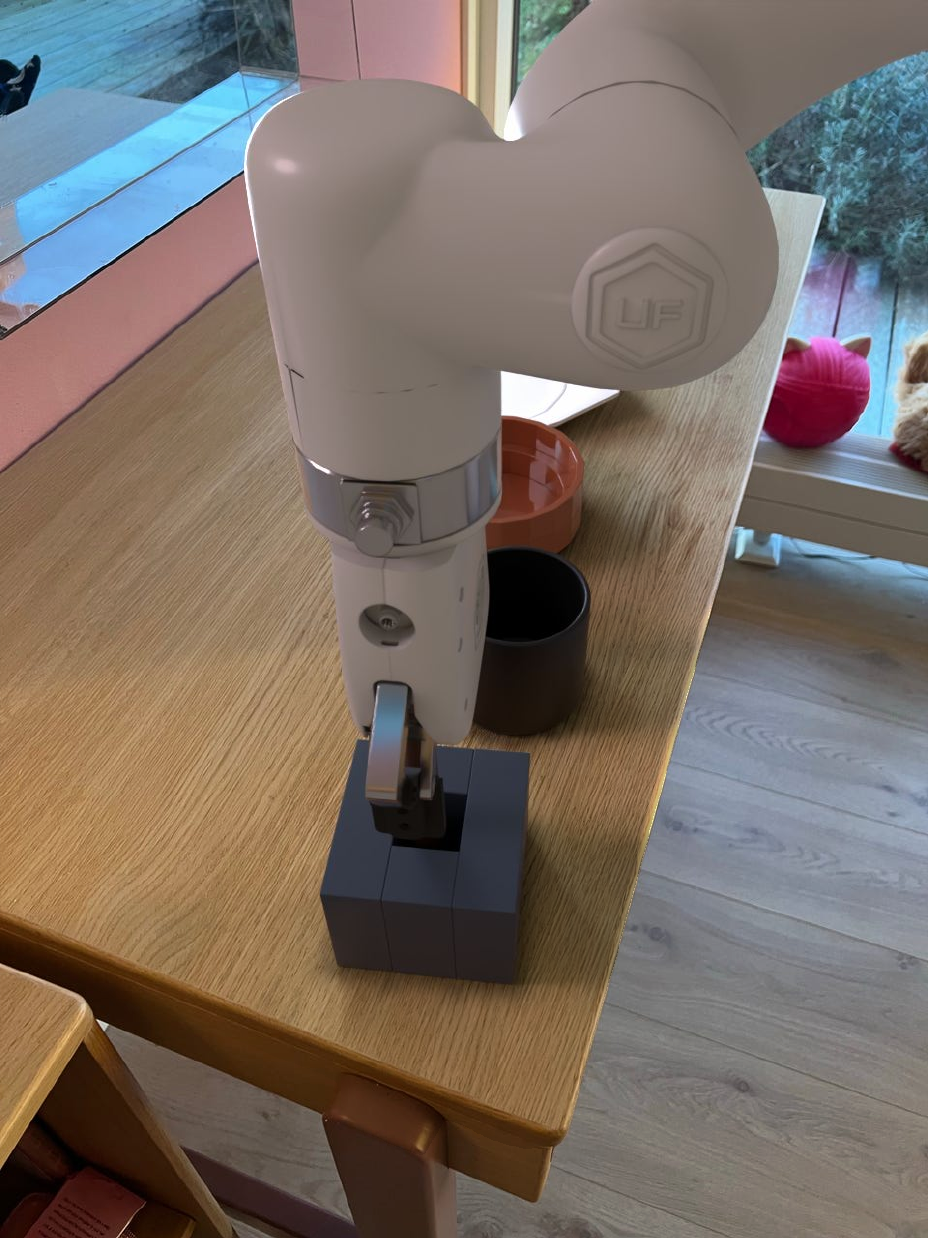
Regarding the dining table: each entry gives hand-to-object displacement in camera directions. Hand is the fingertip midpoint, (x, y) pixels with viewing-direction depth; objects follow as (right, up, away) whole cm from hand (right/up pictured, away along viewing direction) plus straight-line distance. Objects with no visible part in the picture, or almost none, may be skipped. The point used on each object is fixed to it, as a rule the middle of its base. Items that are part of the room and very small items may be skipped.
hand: (426, 745), depth 49 cm
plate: (+2, +29, +49) cm, 57 cm away
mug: (+6, +2, +23) cm, 24 cm away
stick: (0, -10, +10) cm, 15 cm away
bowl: (+4, +15, +35) cm, 38 cm away
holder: (0, -10, +10) cm, 15 cm away
